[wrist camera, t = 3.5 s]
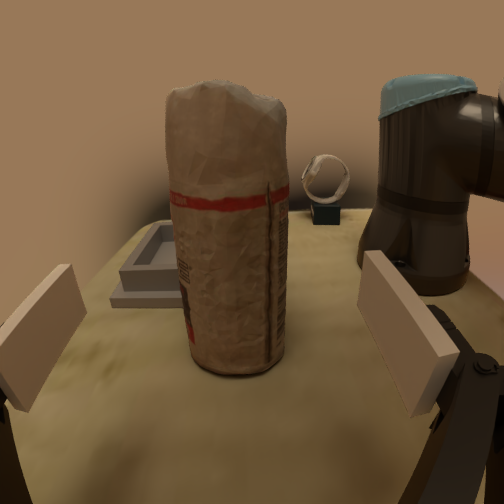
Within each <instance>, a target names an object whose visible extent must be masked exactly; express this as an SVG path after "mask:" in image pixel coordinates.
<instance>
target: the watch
mask: <svg viewBox="0 0 504 504" xmlns="http://www.w3.org/2000/svg"><path fill="white" fill-rule="evenodd" d="M325 158H330V159H335V160H338V161H339V162H340V163H341V164H342V165H343V166H344V169H345V174H344V178H343V180H342V183H341V185H340V187H339V188H338V190H337V191H336V192H335V195H334V196H333V197H330V198H326V197H315V196H313V195H312V194H311V193H309V191H308V189H307V188H308V185H309V184H310V183H311V182H312V181H313V180H314V179H315V177H316V176H317V174H318V172H319V170H320V168H321V165H322V162H323V161H324V160H325ZM349 178H350V177H349V170H348V168H347V166H346V165H345V164H344V163H343V162H342V161H341V160H340V159H339V158H337V157H335V156H332V155H320V156H318V157H317V156H315V157H314V158H313V159H312V160H311V161H310V163H309V164H308V166H307V168H306V169H305V171H304V173H303V176H302V178H301V181H302V182H303V185H304V189H305V191H306V193H307V195H308V196H309V197H310V198H311V216H312V220H313V224H314V225H340V208H341V207H340V205H339V203H338V201H337V200H339V199H340V198H341V197H342V196H343V194H344V193H345V191H346V189H347V187H348V185H349V182H350V179H349Z"/></svg>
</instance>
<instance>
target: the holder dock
mask: <svg viewBox="0 0 504 504" xmlns="http://www.w3.org/2000/svg"><path fill="white" fill-rule="evenodd" d="M175 249H176V248H175V243H174V231H173V222H162V223H154V224H153V225H152V227H151V228H150V229H149V230H148V232H147V233H146V234H145V236H144V237H143V238H142V240H141V241H140V242H139V244H138V245H137V246H136V248H135V249H134V250H133V252H132V253H131V255H130V256H129V257H128V259H127V260H126V261H125V263H124V264H123V266H122V267H121V268H120V270H119V274H120V278H121V281H120V282H119V284H118V285H117V287H116V289H115V290H114V292H113V293H112V295H111V296H110V298H109V299H110V302H111V305H112V308H183V303H182V296H181V292H180V283H179V274H178V267H177V259H176V250H175Z"/></svg>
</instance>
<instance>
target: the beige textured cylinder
mask: <svg viewBox="0 0 504 504" xmlns="http://www.w3.org/2000/svg"><path fill="white" fill-rule="evenodd" d="M286 118H287V116H286V109H285V107H284V105H283V104H282V102H281V101H280V100H279V99H275V98H274V97H270V96H265V95H255V94H252V93H251V92H250V91H249V90H248V89H247V88H245V87H244V86H240V85H236V84H234V83H232V82H229V81H224V80H213V81H204V82H197V83H195V84H194V85H192V86H187V87H184V88H174V89H173V90H171V91H170V93H169V94H168V96H167V98H166V119H165V121H166V122H165V137H166V138H165V140H166V141H165V142H166V158H167V164H168V170H169V188H170V209H171V219H172V222H173V231H174V243H175V248H176V249H175V250H176V259H177V267H178V274H179V283H180V292H181V296H182V303H183V309H184V316H185V322H186V328H187V333H188V338H189V346H190V350H191V355H192V358H193V359H194V360H195V361H196V362H197V363H198V364H199V365H200V366H202V367H204V368H205V369H208V370H210V371H213V372H216V373H218V374H238V375H239V374H251V373H257V372H263V371H265V370H267V369H268V368H270V367H271V366H272V365H273V364H274V363H276V362H277V361H278V360H279V359H280V358H281V357H282V355H283V353H284V336H285V313H286V309H285V307H286V280H287V249H288V222H289V221H288V210H289V207H288V202H289V175H288V169H287V159H286V125H287V119H286Z"/></svg>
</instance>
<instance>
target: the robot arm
mask: <svg viewBox="0 0 504 504" xmlns="http://www.w3.org/2000/svg"><path fill="white" fill-rule="evenodd" d="M378 121H380V143H379V145H380V146H379V171H378V190H377V200H376V203H375V206H374V208H373V210H372V213H371V215H370V217H369V220H368V222H367V224H366V226H365V229H364V231H363V233H362V236H361V238H360V241H359V246H358V255H357V260H358V263H359V265H360V267H361V268H362V274H361V282H360V289H359V295H358V302H357V306H358V308H359V310H360V312H361V314H362V316H363V318H364V320H365V322H366V324H367V326H368V328H369V330H370V332H371V334H372V336H373V338H374V340H375V342H376V344H377V346H378V348H379V350H380V352H381V354H382V356H383V359H384V361H385V363H386V365H387V367H388V369H389V371H390V374H391V376H392V378H393V380H394V382H395V384H396V387H397V389H398V391H399V393H400V396H401V398H402V400H403V402H404V405H405V407H406V409H407V412H408V414H409V416H410V418H411V417H415V416H418V415H422V414H426V413H429V412H430V411H431V409H432V407H433V405H434V404H435V402H437V404H438V406H439V408H440V411H439V413H438V414H437V416H436V418H435V419H434V421H433V422H432V424H431V426H430V427H429V428H430V429H432V430H431V433H430V435H429V438H428V440H427V443H426V445H425V448H424V450H423V452H422V455H421V457H420V459H419V461H418V464H417V466H416V468H415V470H414V472H413V475H412V477H411V479H410V481H409V483H408V485H407V487H406V489H405V491H404V493H403V495H402V497H401V498H400V500H399V502H398V504H474V503H475V500H476V497H477V494H478V491H479V487H480V484H481V481H482V477H483V474H484V470H485V466H486V483H485V498H484V504H504V366H499V364H498V362H497V361H496V360H495V359H494V358H492V357H491V356H489V355H487V354H483V353H475V351H474V350H473V349H472V347H471V346H470V345H469V343H468V342H467V341H466V339H465V338H464V337H463V335H462V334H461V333H460V331H459V330H458V329H456V326H455V325H454V324H453V322H451V320H450V319H449V317H448V316H447V315H446V314H445V312H444V311H442V310H441V309H439V308H438V307H436V306H435V305H425V304H424V302H423V301H422V300H421V299H420V297H419V296H418V295H417V294H422V295H440V294H446V293H450V292H453V291H456V290H458V289H459V288H461V287H462V286H463V285H464V283H465V281H466V278H467V274H468V271H469V266H470V256H469V238H468V226H467V211H468V205H469V198H470V194H474V195H478V196H482V197H486V198H490V199H493V200H497V201H501V202H504V78H503V79H502V80H501V82H500V85H499V93H498V98H497V97H492V96H486V95H482V94H478V93H477V87H476V84H475V82H474V81H473V80H471V79H469V78H466V77H461V76H455V75H447V74H419V75H409V76H403V77H398V78H395V79H392V80H390V81H388V82H387V83H386V84H385V85H384V86H383V88H382V91H381V107H380V116H379V118H378ZM86 314H87V311H86V308H85V305H84V302H83V299H82V296H81V293H80V290H79V287H78V284H77V281H76V278H75V275H74V271H73V268H72V264H59V265H58V266H57V267H56V268H55V269H54V270H53V271H52V272H51V273H50V274H49V275H48V276H47V277H46V278H45V279H44V280H43V281H42V282H41V283H40V284H39V285H38V286H37V287H36V288H35V289H34V291H33V292H32V293H31V294H30V295H29V296H28V297H27V298H26V299H25V300H24V301H23V302H22V304H21V305H20V306H19V307H18V308H17V309H16V310H15V311H14V312H13V314H12V315H11V316H10V317H9V318H8V319H7V321H5V322H4V323H3V324H2V325H1V326H0V504H33V503H32V500H31V497H30V494H29V492H28V489H27V486H26V482H25V479H24V476H23V473H22V469H21V466H20V462H19V458H18V454H17V450H16V446H15V442H14V438H13V433H12V428H11V423H10V418H9V412H8V409H7V407H6V406H5V404H4V403H5V401H6V399H8V400H9V402H10V403H11V404H12V406H13V407H14V408H15V409H17V410H20V411H24V412H27V413H28V412H29V411H30V409H31V407H32V405H33V403H34V401H35V399H36V397H37V395H38V394H39V392H40V390H41V388H42V386H43V385H44V383H45V381H46V379H47V377H48V376H49V374H50V372H51V371H52V369H53V367H54V365H55V364H56V362H57V360H58V359H59V357H60V355H61V354H62V352H63V350H64V349H65V347H66V345H67V344H68V342H69V340H70V339H71V337H72V336H73V334H74V333H75V331H76V329H77V328H78V326H79V325H80V323H81V322H82V320H83V318H84V317H85V315H86Z"/></svg>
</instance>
